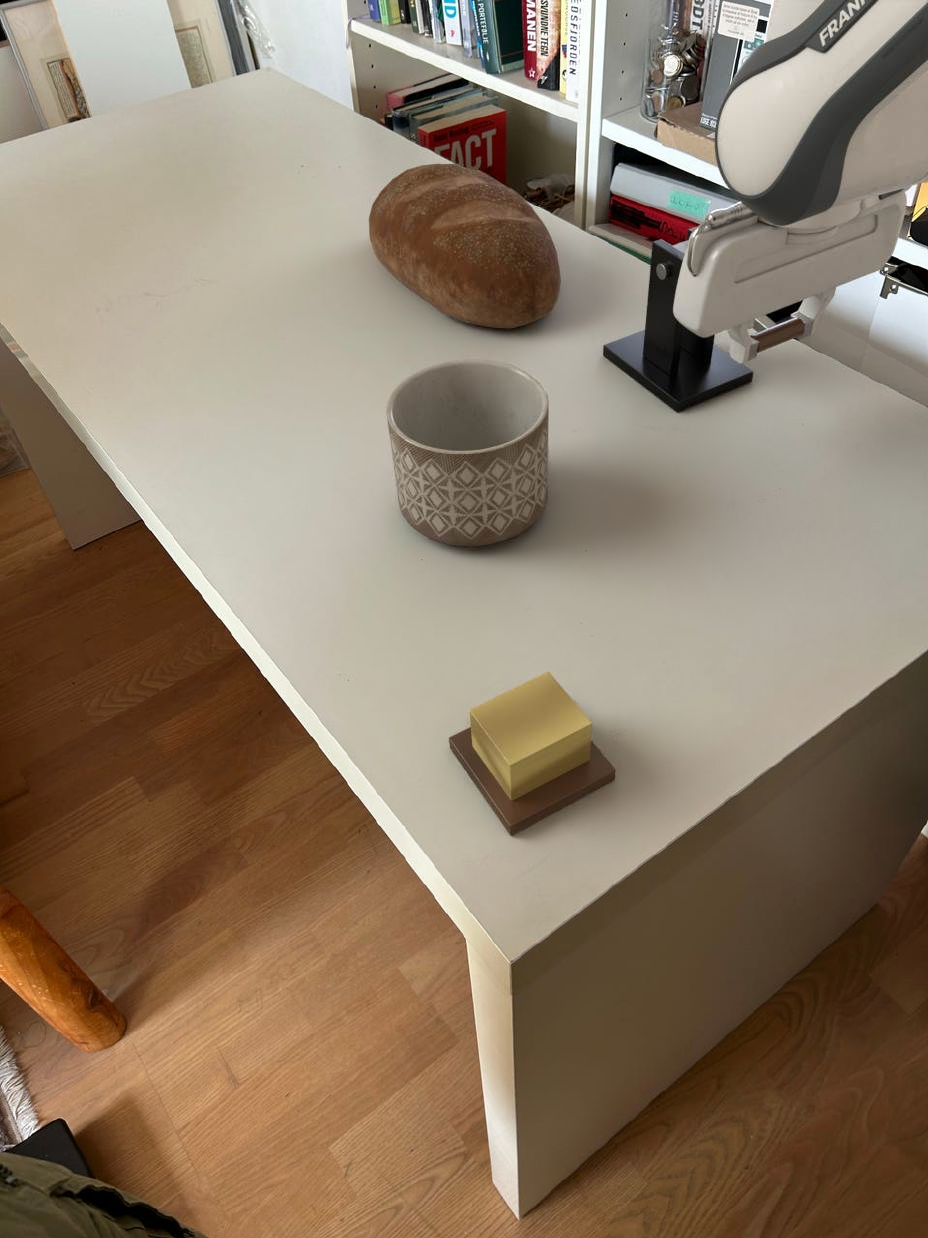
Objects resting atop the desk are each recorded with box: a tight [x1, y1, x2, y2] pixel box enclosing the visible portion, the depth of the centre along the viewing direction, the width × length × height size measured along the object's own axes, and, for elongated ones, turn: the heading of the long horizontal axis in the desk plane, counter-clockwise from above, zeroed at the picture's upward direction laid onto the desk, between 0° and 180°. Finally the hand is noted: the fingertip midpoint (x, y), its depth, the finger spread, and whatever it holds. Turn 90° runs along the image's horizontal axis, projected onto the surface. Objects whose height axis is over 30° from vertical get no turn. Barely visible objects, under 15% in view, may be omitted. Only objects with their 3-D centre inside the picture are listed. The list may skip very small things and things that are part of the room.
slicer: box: [602, 226, 755, 413], centre depth 90 cm, size 12×9×13 cm
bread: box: [368, 163, 562, 330], centre depth 106 cm, size 16×29×11 cm, turn 32°
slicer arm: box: [672, 240, 805, 354], centre depth 84 cm, size 14×5×2 cm, turn 30°
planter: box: [385, 358, 550, 547], centre depth 79 cm, size 13×13×10 cm
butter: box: [448, 671, 617, 837], centre depth 62 cm, size 8×8×5 cm
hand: (772, 346), depth 82 cm, fingers closed on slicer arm, 5 cm apart
